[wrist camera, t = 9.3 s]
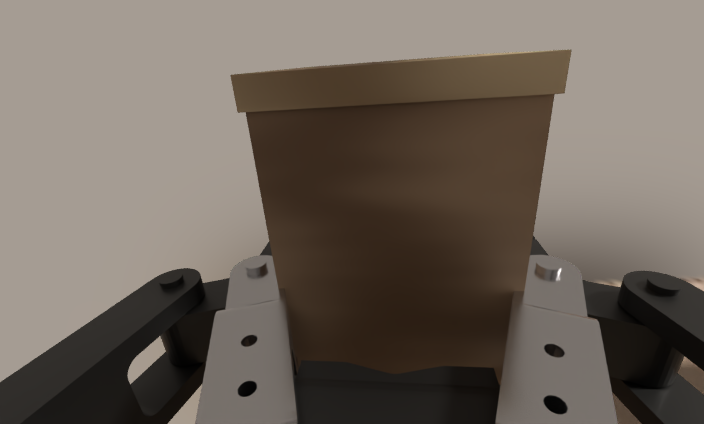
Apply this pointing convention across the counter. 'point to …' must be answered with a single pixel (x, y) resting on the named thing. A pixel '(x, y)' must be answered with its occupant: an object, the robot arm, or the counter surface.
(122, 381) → the robot arm
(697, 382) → the counter surface
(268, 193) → the tall brown wooden box
